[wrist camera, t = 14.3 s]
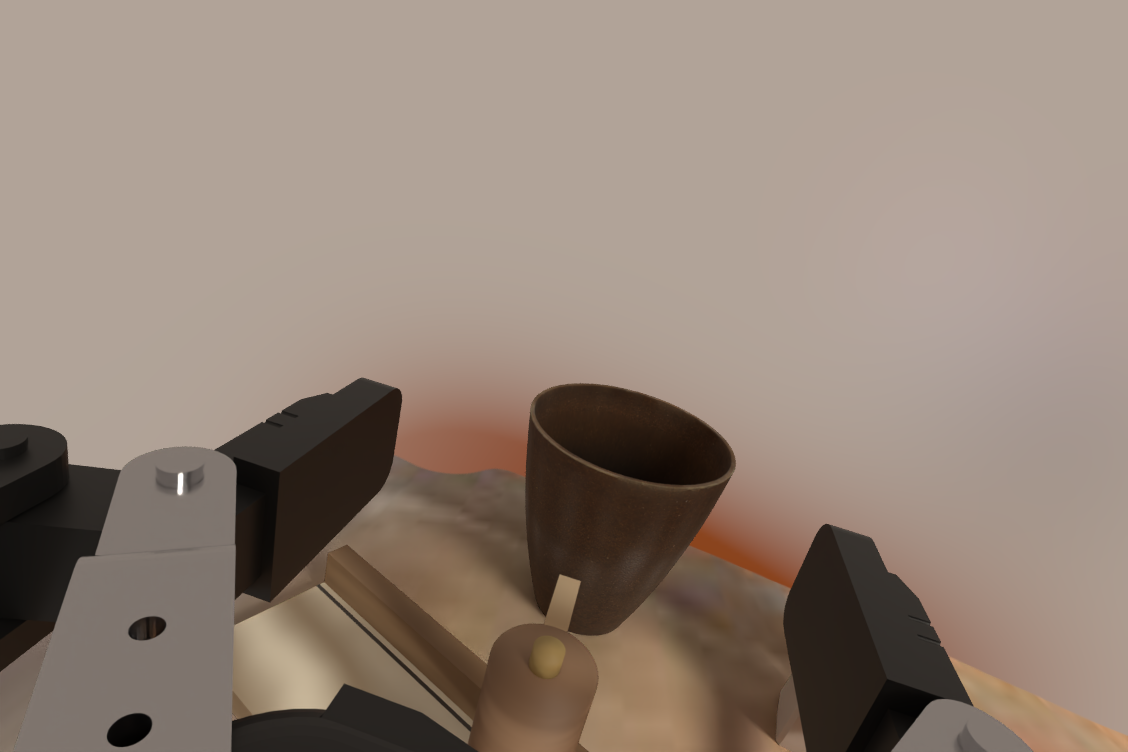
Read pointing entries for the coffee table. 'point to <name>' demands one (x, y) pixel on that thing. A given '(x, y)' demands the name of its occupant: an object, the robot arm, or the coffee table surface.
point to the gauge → (537, 684)
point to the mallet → (789, 720)
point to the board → (354, 651)
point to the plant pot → (615, 495)
